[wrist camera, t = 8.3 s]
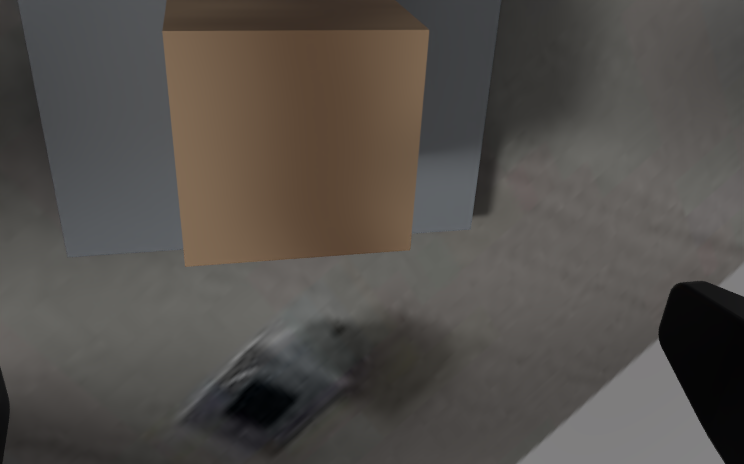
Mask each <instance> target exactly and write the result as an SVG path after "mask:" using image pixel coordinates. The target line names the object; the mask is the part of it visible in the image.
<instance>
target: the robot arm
mask: <svg viewBox="0 0 744 464" xmlns="http://www.w3.org/2000/svg"><path fill="white" fill-rule="evenodd" d="M658 335H659V341H660V345H661V347H662V349H663V351H664V353H665V355H666V357H667V359H668V361H669V363H670V364H671V366H672V368H673V370H674V372H675V374H676V376H677V378H678V380H679V382H680V384H681V386H682V388H683V390H684V392H685V394H686V396H687V398H688V399H689V401H690V404H691V406H692V407H693V409H694V411H695V413H696V415H697V417H698V419H699V421H700V423H701V425H702V426H703V428H704V430H705V432H706V433H707V436H708V437H709V439H710V440H711V442H712V444H713V445H714V447H715V449H716V450H717V452H718V453H719V455H720V456H721V458H722V460H723V461H724V463H725V464H744V297H743V296H740V295H738V294H736V293H733V292H730V291H728V290H725V289H723V288H721V287H718V286H716V285H713V284H711V283H708V282H705V281H693V282H682V283H678V284H676V285H675V286H674V287H673V288H672V289H671V291H670V294H669V297H668V300H667V303H666V307H665V310H664V313H663V316H662V320H661V323H660V326H659V334H658ZM9 415H10V405H9V397H8V393H7V390H6V386H5V382H4V379H3V375H2V371H1V368H0V464H2V462H3V456H4V449H5V443H6V436H7V429H8V423H9Z"/></svg>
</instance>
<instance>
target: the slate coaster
mask: <svg viewBox="0 0 744 464" xmlns="http://www.w3.org/2000/svg"><path fill="white" fill-rule="evenodd" d="M396 1H397V2H398V3H399V4H400V5H401V6H403V7H404V8H405V9H406V10H407V11H408V12H410V13H411V14H412V15H413V16H414V17H415V18H416V19H418V20H419V21H420V22H421V23H422V24H423V25H424V26H426V27H427V28H428V29H429V40H428V52H427V63H426V75H425V86H424V97H423V109H422V120H421V132H420V143H419V155H418V166H417V177H416V189H415V200H414V212H413V223H412V233H427V232H441V231H455V230H470V229H471V223H472V215H473V208H474V200H475V193H476V186H477V178H478V171H479V163H480V156H481V148H482V141H483V133H484V126H485V118H486V111H487V103H488V96H489V89H490V81H491V74H492V66H493V59H494V51H495V44H496V36H497V29H498V21H499V14H500V6H501V0H396ZM166 2H167V0H18V5H19V10H20V15H21V20H22V25H23V30H24V35H25V41H26V46H27V51H28V56H29V61H30V66H31V72H32V77H33V82H34V87H35V92H36V97H37V102H38V108H39V113H40V118H41V123H42V128H43V133H44V139H45V144H46V149H47V154H48V159H49V164H50V169H51V175H52V180H53V185H54V190H55V195H56V200H57V206H58V211H59V216H60V221H61V226H62V231H63V237H64V242H65V247H66V252H67V257H80V256H94V255H109V254H123V253H137V252H152V251H166V250H181V249H183V239H182V228H181V218H180V208H179V198H178V187H177V177H176V167H175V156H174V146H173V136H172V125H171V115H170V105H169V95H168V84H167V74H166V64H165V53H164V43H163V33H162V30H163V23H164V16H165V9H166Z"/></svg>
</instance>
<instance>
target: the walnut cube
mask: <svg viewBox="0 0 744 464" xmlns="http://www.w3.org/2000/svg"><path fill="white" fill-rule="evenodd" d="M162 33H163V43H164V53H165V64H166V74H167V84H168V95H169V105H170V115H171V125H172V136H173V146H174V156H175V167H176V177H177V187H178V198H179V208H180V218H181V228H182V239H183V249H184V259H185V267H188V266H202V265H215V264H229V263H243V262H256V261H270V260H283V259H297V258H310V257H324V256H338V255H351V254H365V253H378V252H392V251H405V250H410V246H411V234H412V223H413V212H414V200H415V189H416V177H417V166H418V155H419V143H420V132H421V120H422V109H423V97H424V86H425V75H426V63H427V52H428V40H429V29H428V28H427V27H426V26H424V25H423V24H422V23H421V22H420V21H419V20H418V19H416V18H415V17H414V16H413V15H412V14H411V13H410V12H408V11H407V10H406V9H405V8H404V7H403V6H401V5H400V4H399V3H398V2H397V1H396V0H167V2H166V9H165V16H164V23H163V30H162Z"/></svg>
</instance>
